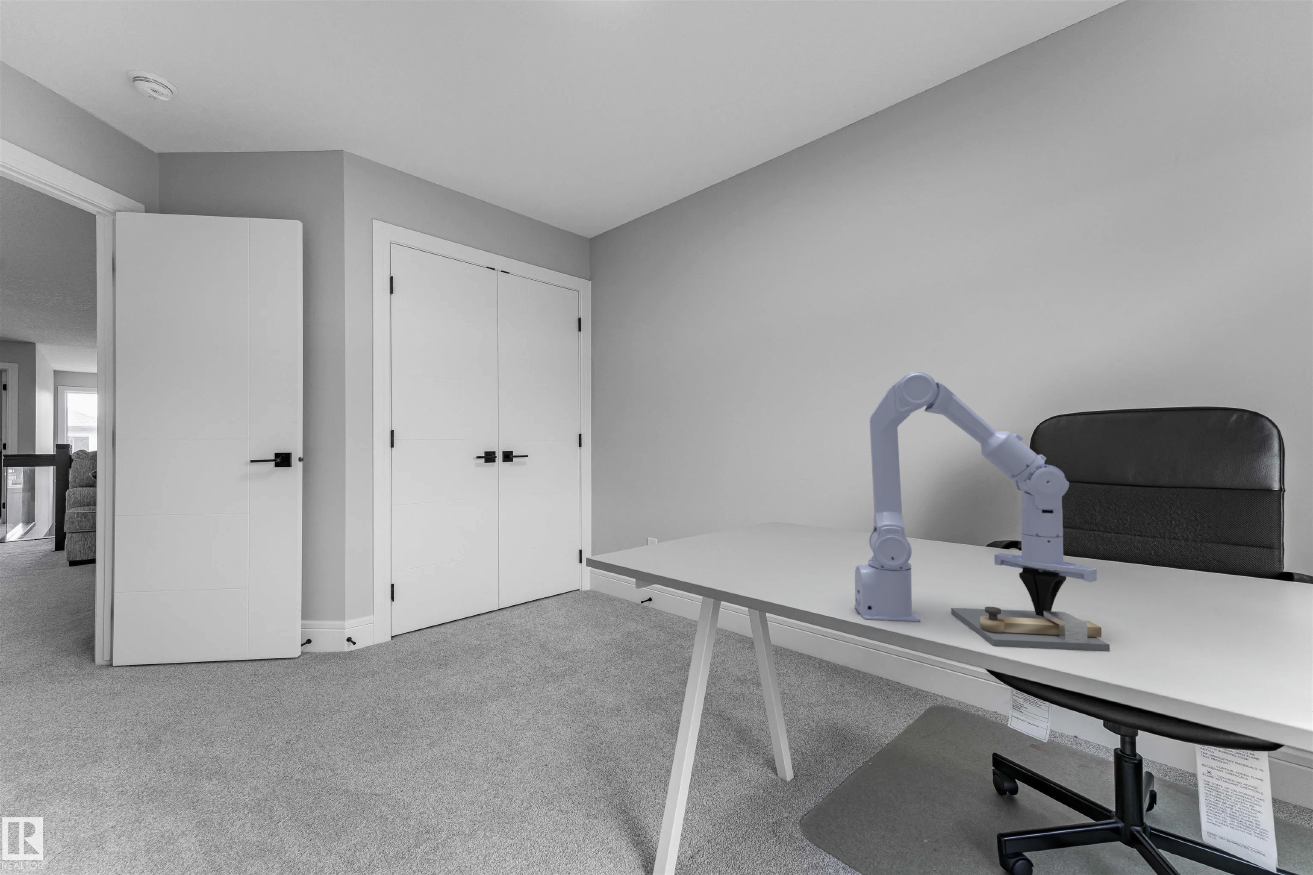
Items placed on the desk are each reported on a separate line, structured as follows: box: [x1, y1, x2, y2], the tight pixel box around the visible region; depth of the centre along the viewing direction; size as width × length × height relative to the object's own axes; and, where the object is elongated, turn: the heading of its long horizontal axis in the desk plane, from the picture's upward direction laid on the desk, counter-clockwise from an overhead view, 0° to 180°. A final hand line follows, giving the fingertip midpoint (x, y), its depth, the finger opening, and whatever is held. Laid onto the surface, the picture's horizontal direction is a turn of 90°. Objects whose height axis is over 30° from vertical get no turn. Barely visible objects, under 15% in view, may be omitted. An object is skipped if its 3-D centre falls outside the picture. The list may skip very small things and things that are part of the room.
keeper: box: [1044, 610, 1087, 643], centre depth 82 cm, size 3×6×3 cm, turn 172°
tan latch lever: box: [980, 606, 1102, 638], centre depth 84 cm, size 16×4×3 cm, turn 80°
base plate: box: [950, 607, 1111, 652], centre depth 88 cm, size 16×16×1 cm
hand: (1043, 615), depth 90 cm, fingers closed
